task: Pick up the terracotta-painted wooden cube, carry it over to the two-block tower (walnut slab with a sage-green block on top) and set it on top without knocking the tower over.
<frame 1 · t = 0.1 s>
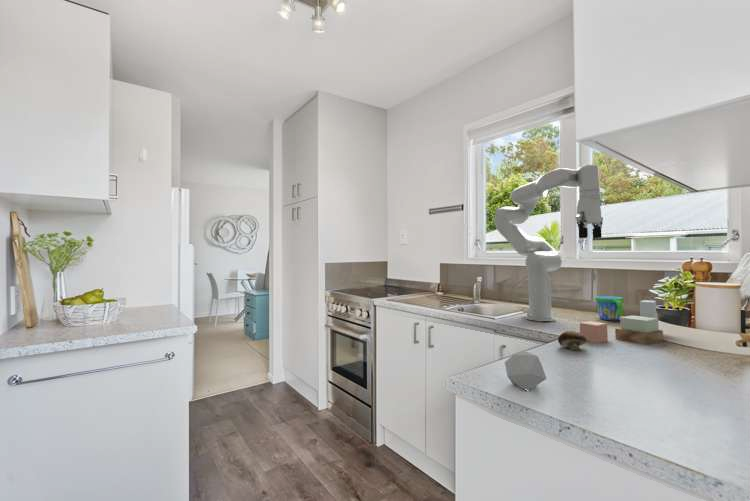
hand: (590, 237, 142), 37 cm above the worktop, fingers open, 9 cm apart
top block: (639, 329, 122), point 4 cm above the worktop, touching bottom slab
bottom slab: (638, 341, 122), on the worktop, touching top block
cube: (593, 340, 123), on the worktop
snack cup: (609, 320, 159), on the worktop
die: (525, 387, 81), on the worktop
skincare box: (649, 333, 131), on the worktop
mushroom: (572, 349, 112), on the worktop
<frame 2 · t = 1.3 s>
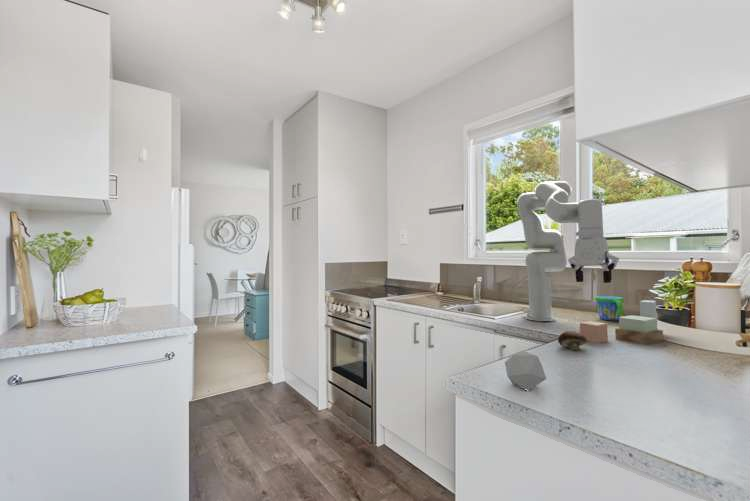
hand: (593, 282, 124), 20 cm above the worktop, fingers open, 9 cm apart
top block: (638, 329, 122), point 4 cm above the worktop
bottom slab: (639, 341, 122), on the worktop
everything else where it was.
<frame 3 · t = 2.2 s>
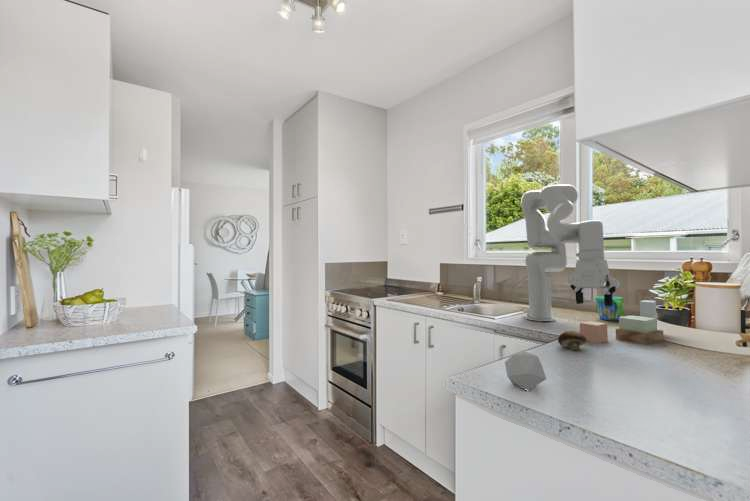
hand: (593, 304, 122), 12 cm above the worktop, fingers open, 9 cm apart
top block: (637, 329, 122), point 4 cm above the worktop, touching bottom slab
bottom slab: (639, 341, 122), on the worktop, touching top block
everything else where it was.
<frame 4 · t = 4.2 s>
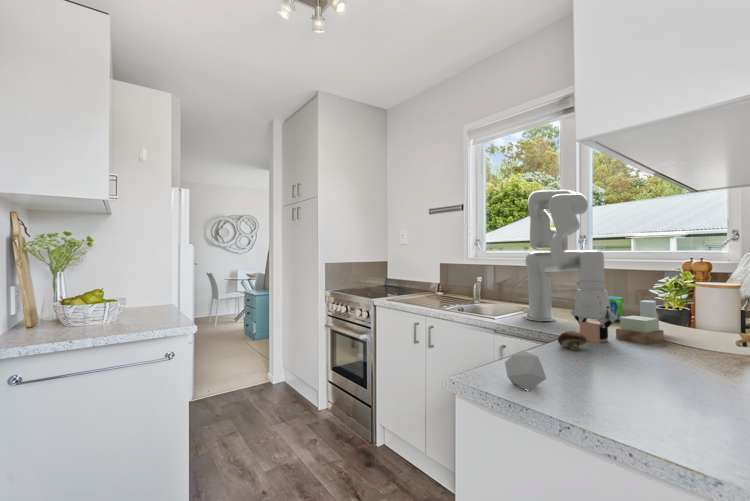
hand: (593, 336, 123), 1 cm above the worktop, fingers closed on cube, 6 cm apart
cube: (593, 340, 123), on the worktop, touching gripper
everything else where it was.
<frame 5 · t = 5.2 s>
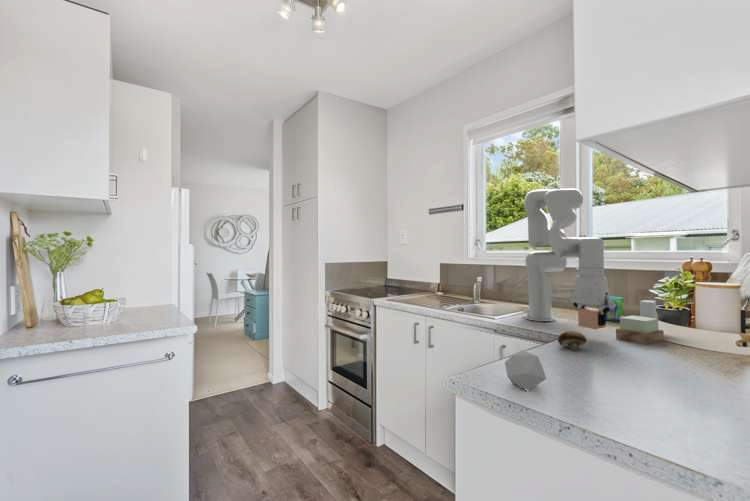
hand: (591, 323, 123), 6 cm above the worktop, fingers closed on cube, 6 cm apart
cube: (592, 326, 123), point 5 cm above the worktop, touching gripper
everything else where it was.
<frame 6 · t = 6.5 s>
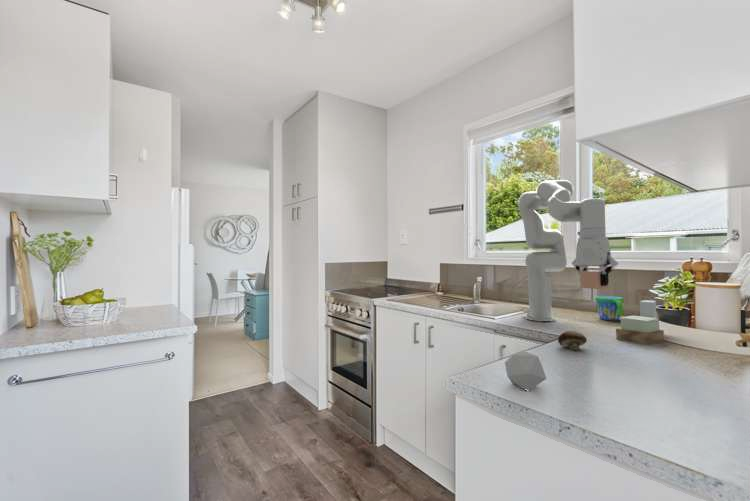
hand: (594, 284, 123), 19 cm above the worktop, fingers closed on cube, 6 cm apart
cube: (594, 287, 123), point 18 cm above the worktop, touching gripper
everything else where it was.
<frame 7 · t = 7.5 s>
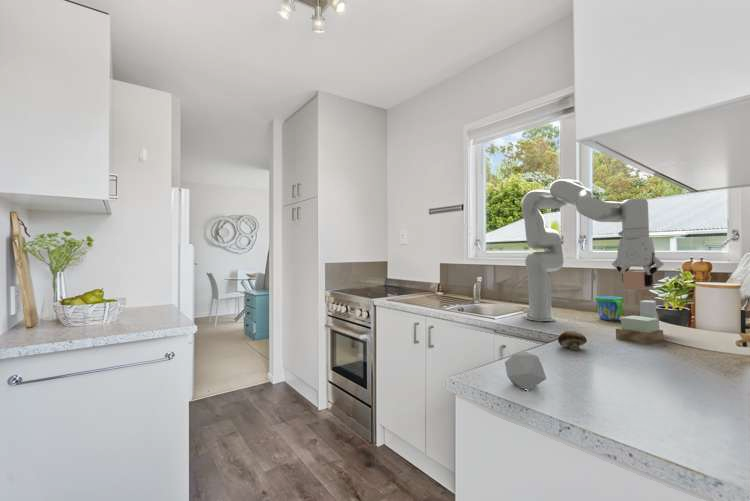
hand: (637, 285, 122), 19 cm above the worktop, fingers closed on cube, 6 cm apart
cube: (637, 288, 122), point 18 cm above the worktop, touching gripper
everything else where it was.
when the fingers open (10 cm above the worktop, at t = 9.9 s): cube drops 1 cm, resting on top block.
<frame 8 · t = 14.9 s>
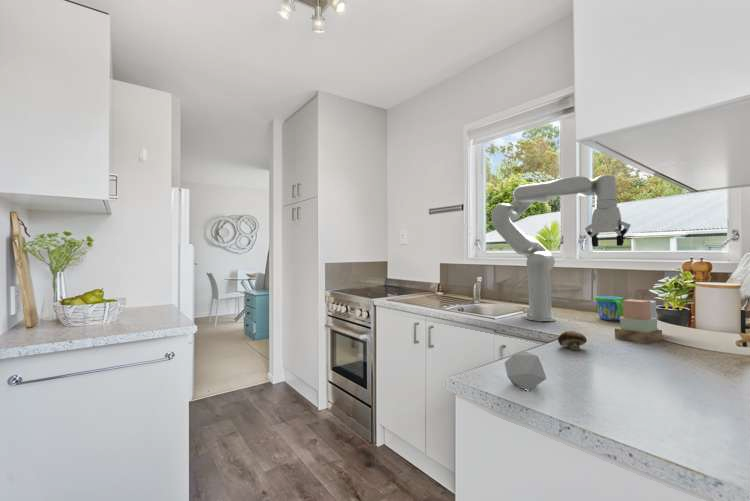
hand: (607, 246, 146), 33 cm above the worktop, fingers open, 9 cm apart
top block: (638, 329, 122), point 3 cm above the worktop, touching bottom slab, cube
cube: (636, 317, 123), point 7 cm above the worktop, touching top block
everything else where it was.
at the end: cube inside the target area on the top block (0.5 cm from its centre), point 4.0 cm above the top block's base; cube tilted 0°; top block moved 0.7 cm from its start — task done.
